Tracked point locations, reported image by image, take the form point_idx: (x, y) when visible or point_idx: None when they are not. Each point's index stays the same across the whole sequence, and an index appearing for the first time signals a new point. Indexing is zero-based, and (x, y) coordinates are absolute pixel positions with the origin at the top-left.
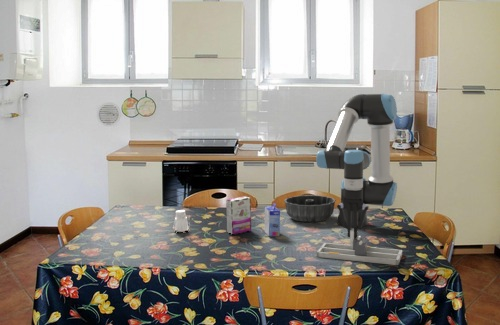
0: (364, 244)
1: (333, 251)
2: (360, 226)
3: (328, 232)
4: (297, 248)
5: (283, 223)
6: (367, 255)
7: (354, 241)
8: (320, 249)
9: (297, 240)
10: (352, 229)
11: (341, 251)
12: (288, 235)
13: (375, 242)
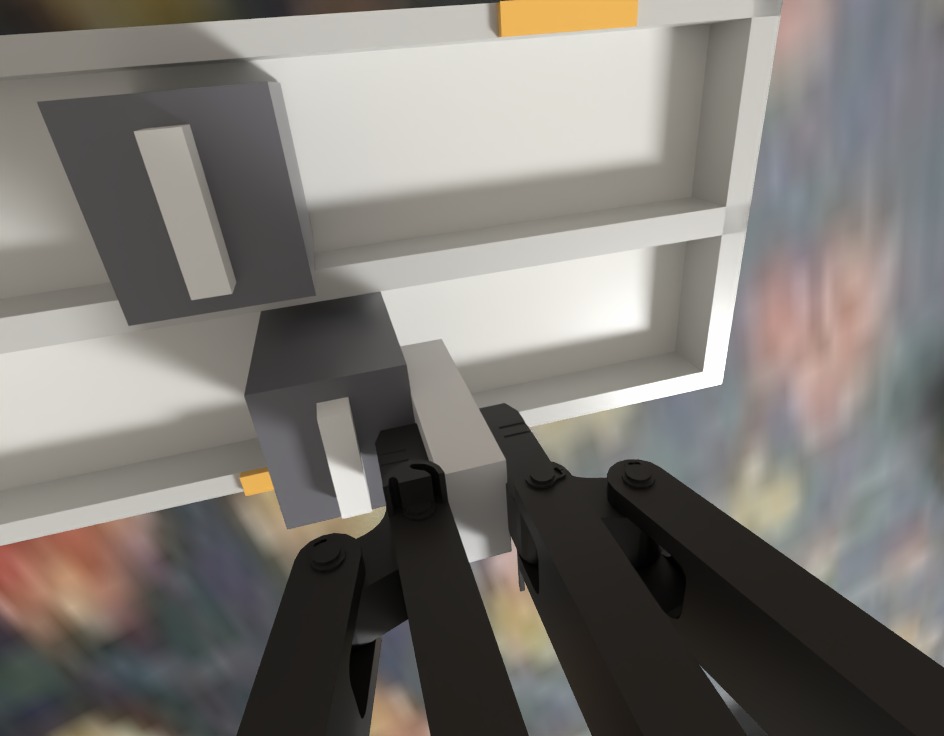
0: (98, 187)
1: (593, 217)
2: (311, 586)
3: None
4: (886, 281)
5: (936, 656)
6: None
7: (383, 357)
8: (745, 127)
9: (878, 454)
10: (482, 521)
11: (507, 234)
12: (927, 510)
13: None
